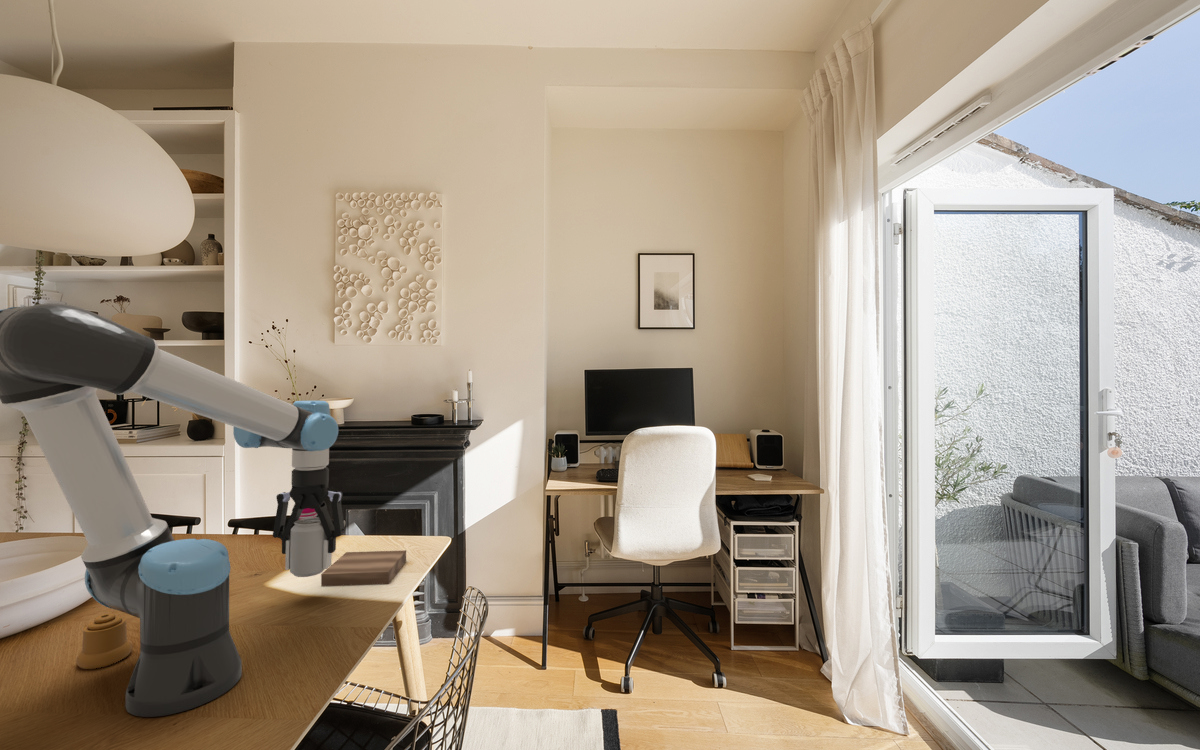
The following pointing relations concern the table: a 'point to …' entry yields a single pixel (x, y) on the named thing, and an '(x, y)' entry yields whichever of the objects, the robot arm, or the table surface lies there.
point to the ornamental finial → (104, 642)
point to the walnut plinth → (364, 568)
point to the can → (307, 547)
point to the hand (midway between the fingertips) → (308, 567)
